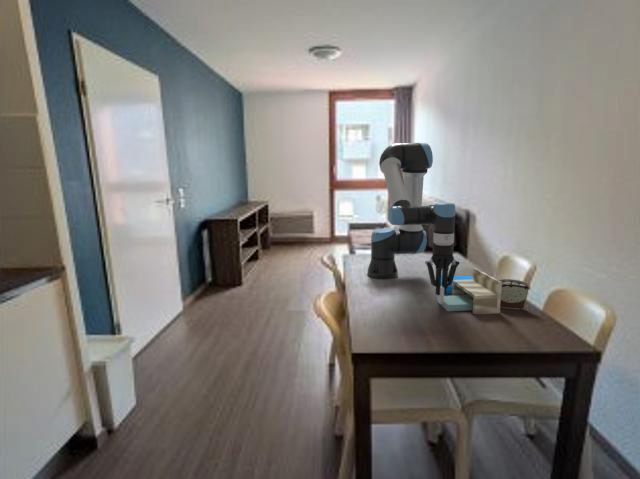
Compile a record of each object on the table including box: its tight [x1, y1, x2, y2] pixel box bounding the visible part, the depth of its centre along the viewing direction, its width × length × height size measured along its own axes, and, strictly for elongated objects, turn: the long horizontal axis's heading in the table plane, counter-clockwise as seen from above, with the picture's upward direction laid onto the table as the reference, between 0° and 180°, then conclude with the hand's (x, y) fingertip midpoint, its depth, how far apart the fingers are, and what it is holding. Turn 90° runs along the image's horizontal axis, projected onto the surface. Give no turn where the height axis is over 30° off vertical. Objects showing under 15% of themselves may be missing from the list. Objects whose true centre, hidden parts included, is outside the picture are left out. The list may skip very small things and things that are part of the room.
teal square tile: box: [439, 295, 473, 312], centre depth 150 cm, size 10×12×3 cm
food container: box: [498, 278, 531, 311], centre depth 149 cm, size 12×6×10 cm, turn 71°
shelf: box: [451, 267, 502, 315], centre depth 150 cm, size 20×10×12 cm, turn 5°
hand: (440, 302), depth 150 cm, fingers closed
